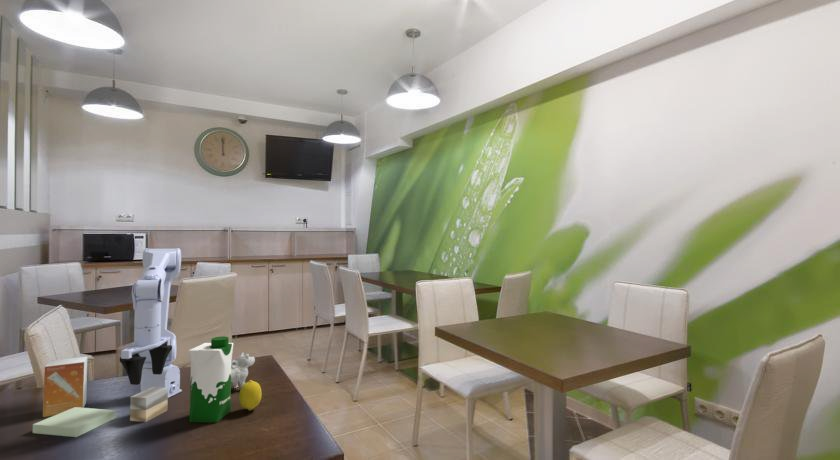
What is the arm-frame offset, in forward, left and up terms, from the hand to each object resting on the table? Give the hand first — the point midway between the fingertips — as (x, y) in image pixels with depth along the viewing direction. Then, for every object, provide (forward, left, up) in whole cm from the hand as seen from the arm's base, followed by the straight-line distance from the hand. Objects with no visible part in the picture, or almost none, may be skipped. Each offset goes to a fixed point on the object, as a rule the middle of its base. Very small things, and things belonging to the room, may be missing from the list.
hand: (146, 378), depth 105 cm
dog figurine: (-12, -19, -10) cm, 25 cm away
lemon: (-25, -7, -10) cm, 27 cm away
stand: (+12, +8, -9) cm, 17 cm away
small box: (+24, +1, -10) cm, 26 cm away
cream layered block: (-1, 0, -10) cm, 10 cm away
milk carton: (-17, -2, -10) cm, 19 cm away
